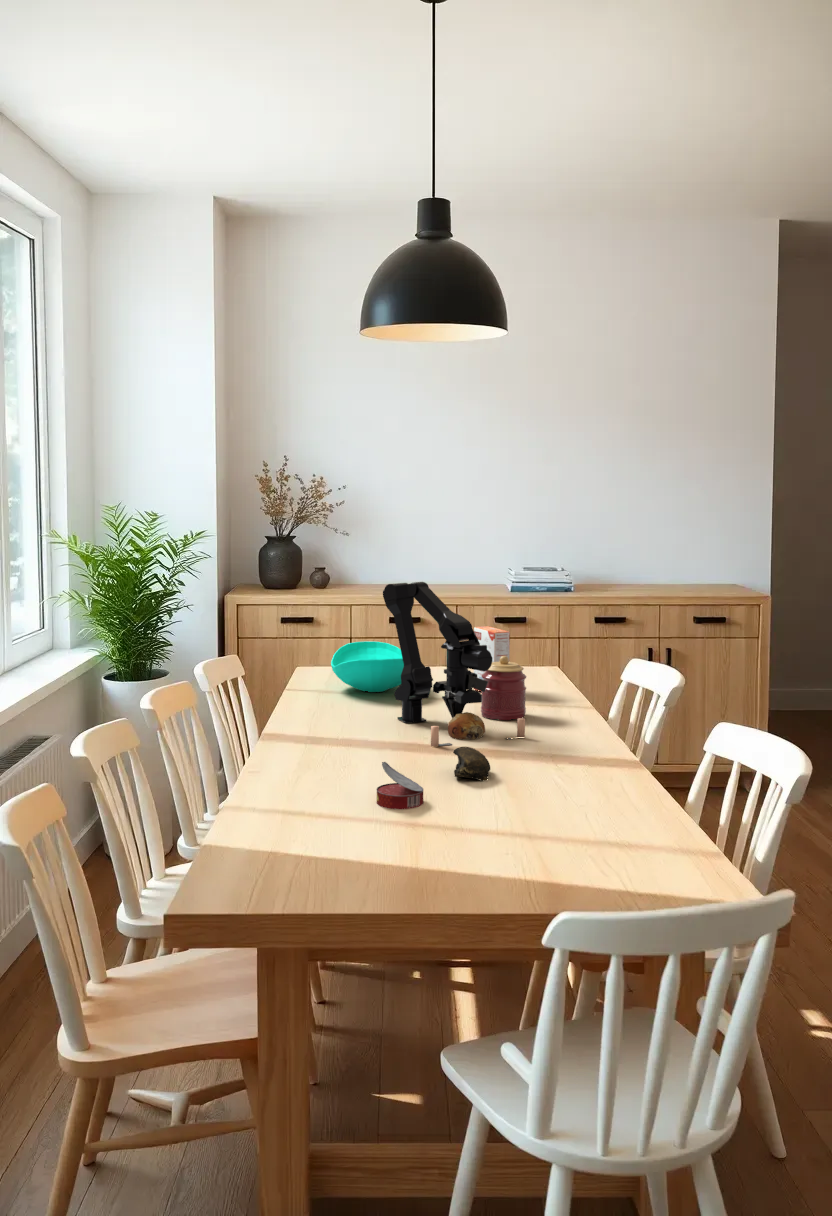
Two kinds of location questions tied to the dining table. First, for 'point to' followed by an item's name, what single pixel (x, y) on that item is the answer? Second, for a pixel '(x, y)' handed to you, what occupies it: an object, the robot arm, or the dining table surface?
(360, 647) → the table top decor
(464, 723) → the bread roll
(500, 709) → the canister
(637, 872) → the dining table surface
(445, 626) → the robot arm
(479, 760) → the seashell
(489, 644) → the cracker box
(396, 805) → the canned food
